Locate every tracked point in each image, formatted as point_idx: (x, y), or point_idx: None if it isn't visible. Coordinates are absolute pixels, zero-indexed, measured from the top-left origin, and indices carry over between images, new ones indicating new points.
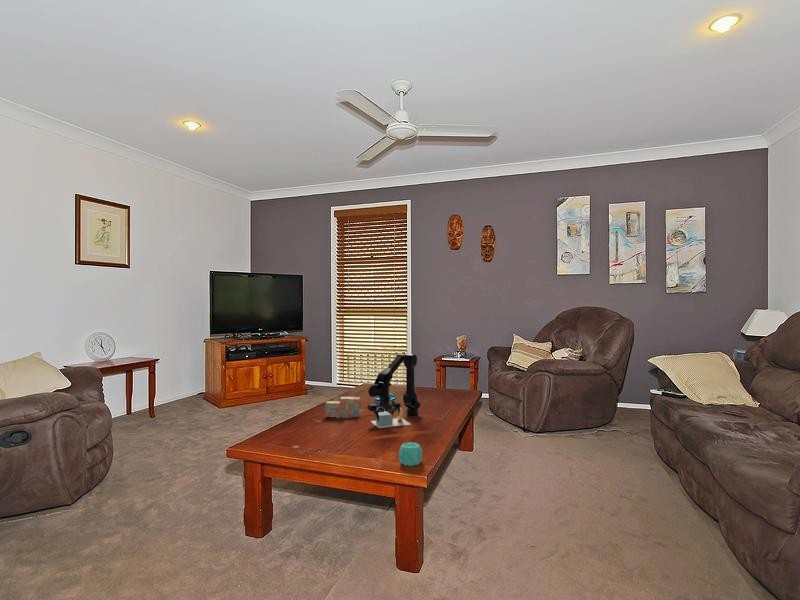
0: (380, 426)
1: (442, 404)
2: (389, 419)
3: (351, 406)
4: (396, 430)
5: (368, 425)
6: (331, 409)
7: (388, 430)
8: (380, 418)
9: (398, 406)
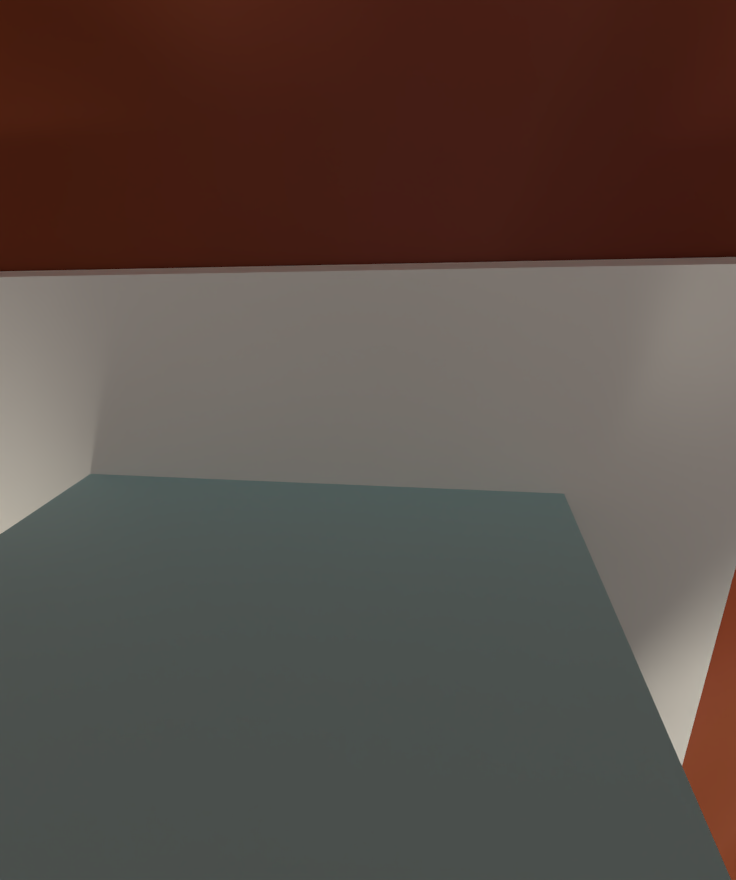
0: (600, 453)
1: None
2: (60, 621)
3: None
4: (64, 29)
5: (725, 842)
6: None
7: (358, 145)
8: (670, 845)
9: None
